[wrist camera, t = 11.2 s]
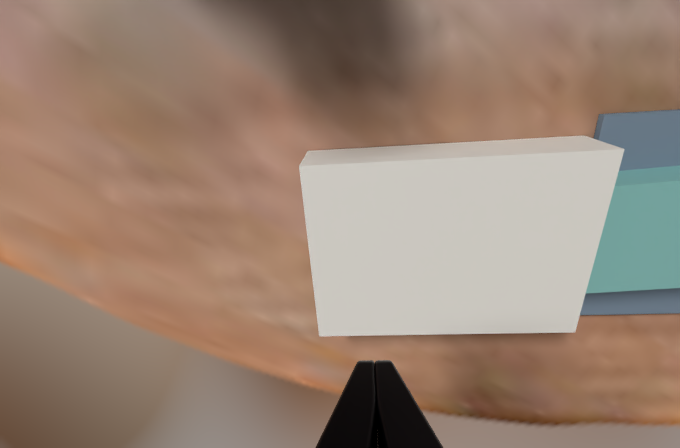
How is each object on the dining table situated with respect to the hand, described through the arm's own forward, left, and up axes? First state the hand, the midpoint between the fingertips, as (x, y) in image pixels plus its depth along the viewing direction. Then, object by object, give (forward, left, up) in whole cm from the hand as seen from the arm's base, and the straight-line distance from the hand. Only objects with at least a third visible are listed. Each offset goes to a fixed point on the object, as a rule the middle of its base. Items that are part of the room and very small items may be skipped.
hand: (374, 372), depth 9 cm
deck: (-4, +2, -12) cm, 13 cm away
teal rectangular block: (-16, +2, -12) cm, 20 cm away
